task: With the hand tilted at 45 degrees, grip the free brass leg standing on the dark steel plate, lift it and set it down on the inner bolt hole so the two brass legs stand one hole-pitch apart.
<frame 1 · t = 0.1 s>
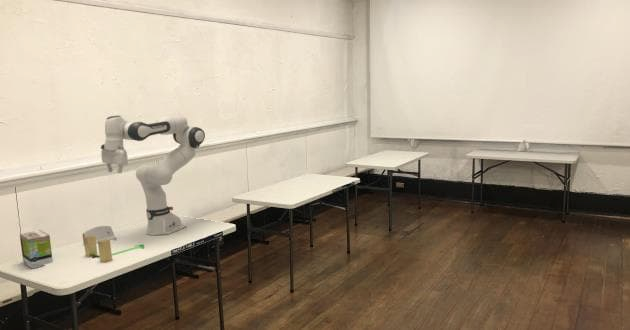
hand: (114, 172, 270), 39 cm above the table, tool pointing down, fingers open, 8 cm apart
fixed brass leg: (106, 260, 246), resting on steel plate
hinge: (99, 243, 279), on the table
wrench: (122, 254, 258), on the table, touching steel plate
steel plate: (100, 260, 250), on the table
tea box: (38, 263, 251), on the table
brass leg: (91, 255, 255), point 1 cm above the table, touching steel plate
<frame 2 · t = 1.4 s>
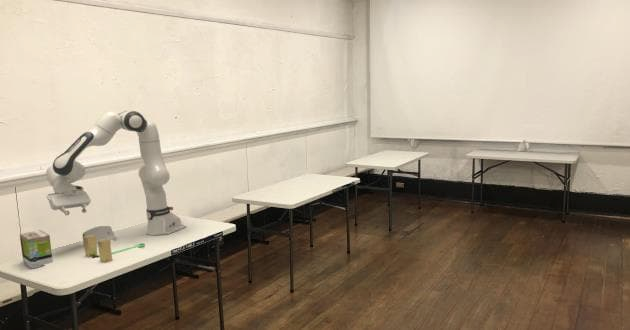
hand: (76, 213, 259), 21 cm above the table, tool tilted 45°, fingers open, 8 cm apart
wrench: (123, 252, 260), on the table, touching steel plate
everything else where it was.
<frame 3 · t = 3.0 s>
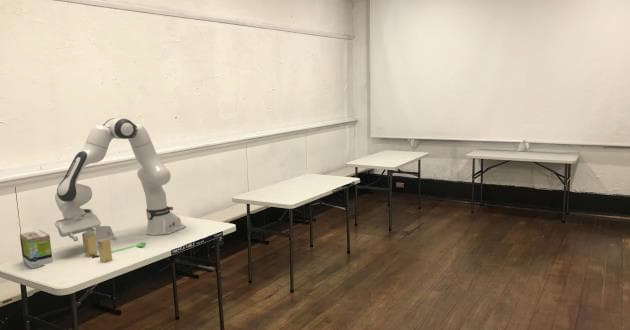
hand: (85, 238, 255), 9 cm above the table, tool tilted 45°, fingers open, 8 cm apart
wrench: (123, 251, 262), on the table, touching steel plate
everything else where it was.
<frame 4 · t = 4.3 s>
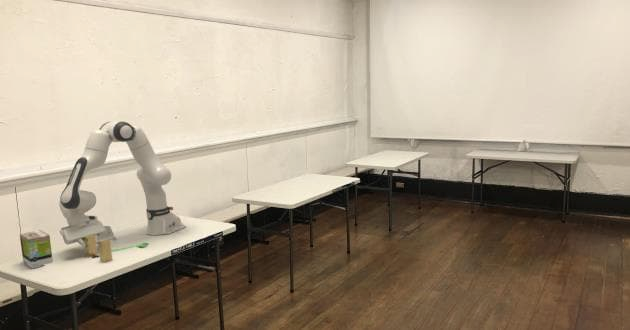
hand: (90, 245, 254), 6 cm above the table, tool tilted 45°, fingers closed on brass leg, 4 cm apart
brass leg: (91, 255, 255), point 1 cm above the table, touching gripper, steel plate
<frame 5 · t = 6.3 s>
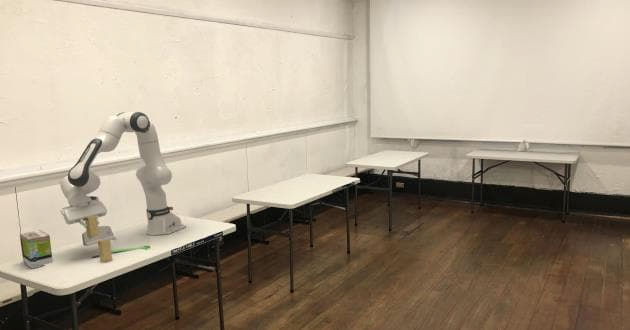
hand: (92, 225, 249), 17 cm above the table, tool tilted 45°, fingers closed on brass leg, 4 cm apart
wrench: (124, 252, 259), on the table, touching steel plate
brass leg: (93, 236, 251), point 12 cm above the table, touching gripper
everything else where it was.
when the fingers open (8 cm above the table, at t = 8.6 s): brass leg drops 1 cm, resting on wrench.
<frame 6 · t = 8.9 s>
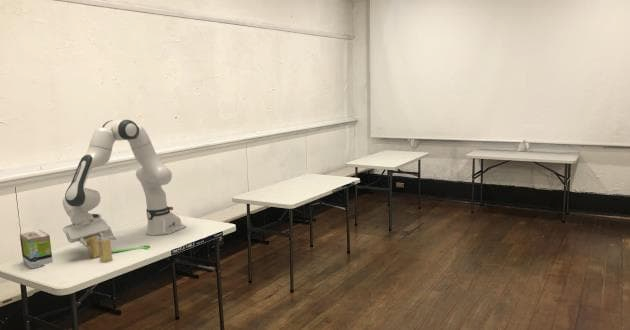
hand: (94, 243, 251), 8 cm above the table, tool tilted 45°, fingers open, 6 cm apart
wrench: (124, 252, 260), on the table, touching brass leg, steel plate
brass leg: (95, 255, 252), point 1 cm above the table, tilted 8°, touching gripper, wrench
everything else where it was.
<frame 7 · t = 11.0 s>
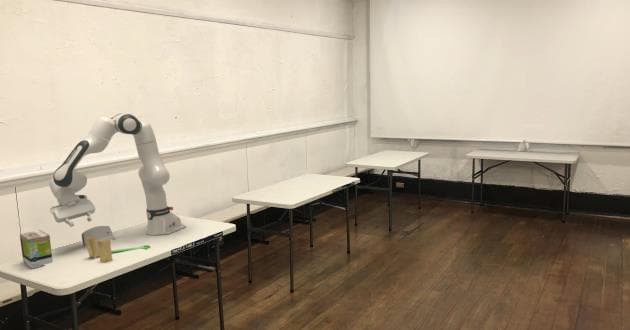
hand: (81, 223, 260), 16 cm above the table, tool tilted 45°, fingers open, 8 cm apart
wrench: (124, 251, 260), on the table, touching brass leg, steel plate
brass leg: (95, 256, 253), point 1 cm above the table, tilted 10°, touching steel plate, wrench
everything else where it was.
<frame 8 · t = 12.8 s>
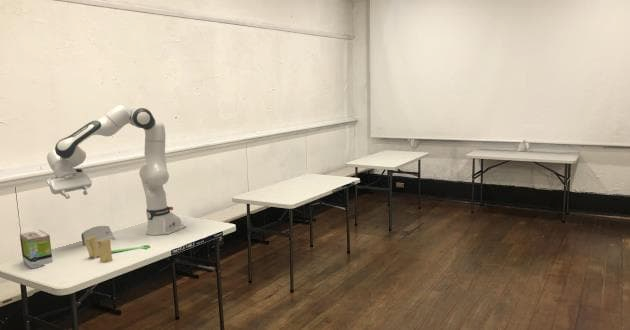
hand: (77, 196, 261), 29 cm above the table, tool tilted 45°, fingers open, 8 cm apart
nothing on the table moved.
at the end: brass leg 0.1 cm from the target spot, point 1.4 cm above the table; brass leg tilted 10°; the gripper is holding nothing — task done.
